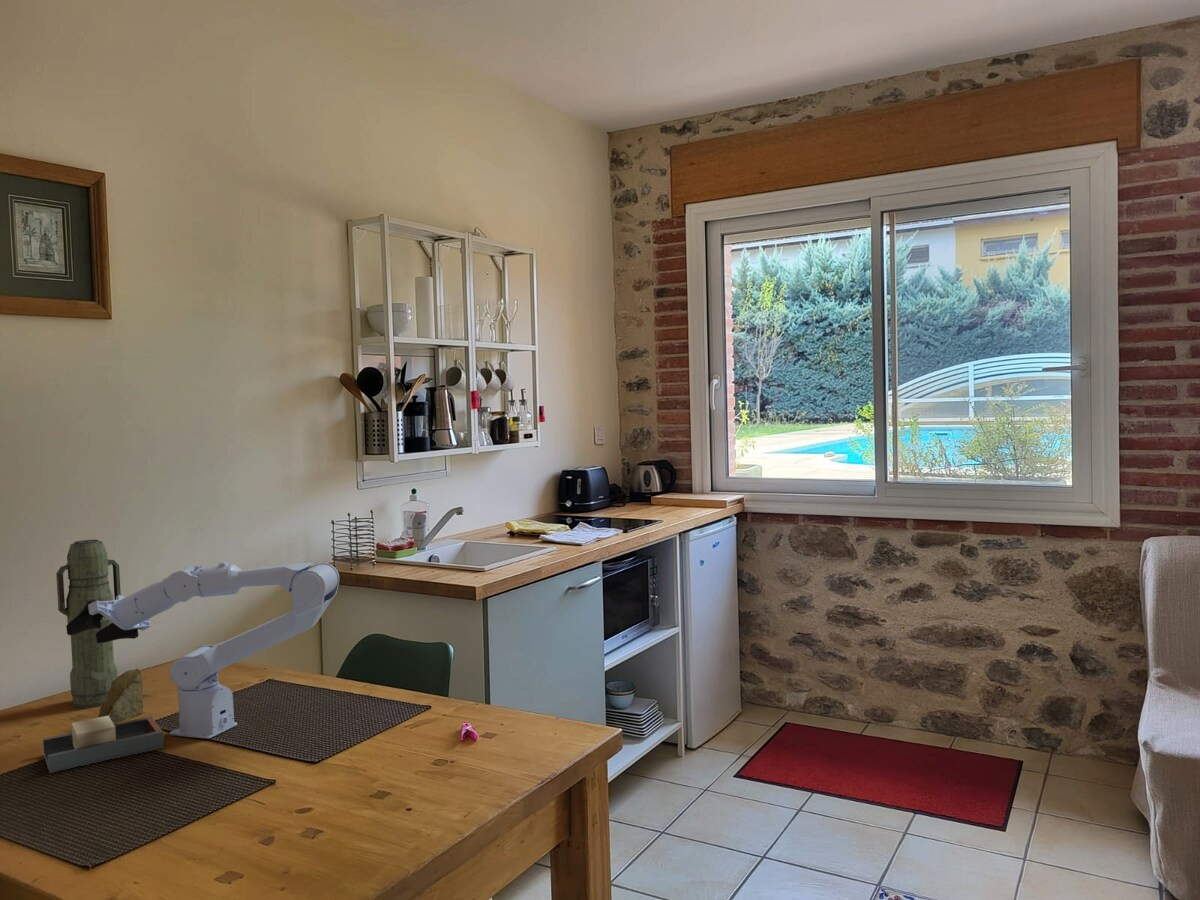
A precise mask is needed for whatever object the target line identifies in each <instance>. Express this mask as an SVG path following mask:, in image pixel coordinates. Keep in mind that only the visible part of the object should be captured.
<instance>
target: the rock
mask: <svg viewBox="0 0 1200 900" xmlns="http://www.w3.org/2000/svg"><path fill="white" fill-rule="evenodd" d="M142 676H143V675H142V672H141V671H140V669H139V668H136V669H129V670H126V671H125V672H123V673H122V674H120V675H118V678H116V679H115V680H113V681H112V683H111V688H110V691H109V692H108V695H107V697H106V700H105V701H104V702H103V704H102V706H100V710H99V713H98V715H97V717H96V718H99V717H104V716H109V717H110V719H111V720H112V722H113V724H115V723H116V724H117V722H118V723H120V722H119V721H121V722H123V721H126V720H125V719H127V720H129V719H131V718H130V717H132V718H133V716H134V717H136V716H139V715H141V714H142V713H144V701H143V697H142V696H143V689H144V688H143V681H144V680H143V677H142ZM128 718H129V719H128ZM122 720H123V721H122Z"/></svg>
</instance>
